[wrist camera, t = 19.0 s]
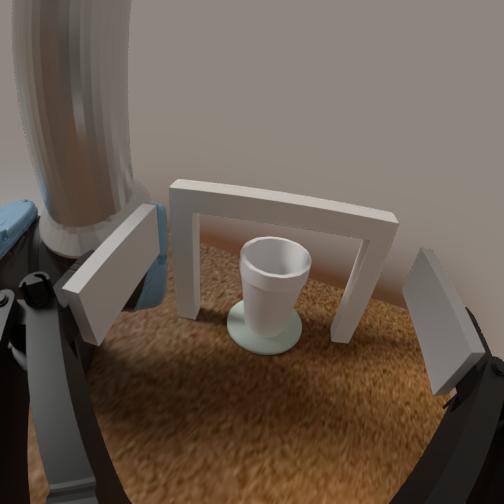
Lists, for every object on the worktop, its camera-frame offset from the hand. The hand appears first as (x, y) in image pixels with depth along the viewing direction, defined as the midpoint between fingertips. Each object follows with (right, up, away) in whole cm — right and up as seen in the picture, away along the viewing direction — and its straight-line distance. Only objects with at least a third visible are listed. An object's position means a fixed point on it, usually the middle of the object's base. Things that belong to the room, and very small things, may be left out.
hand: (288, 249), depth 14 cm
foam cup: (0, -11, +32) cm, 34 cm away
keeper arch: (0, -12, +33) cm, 35 cm away
